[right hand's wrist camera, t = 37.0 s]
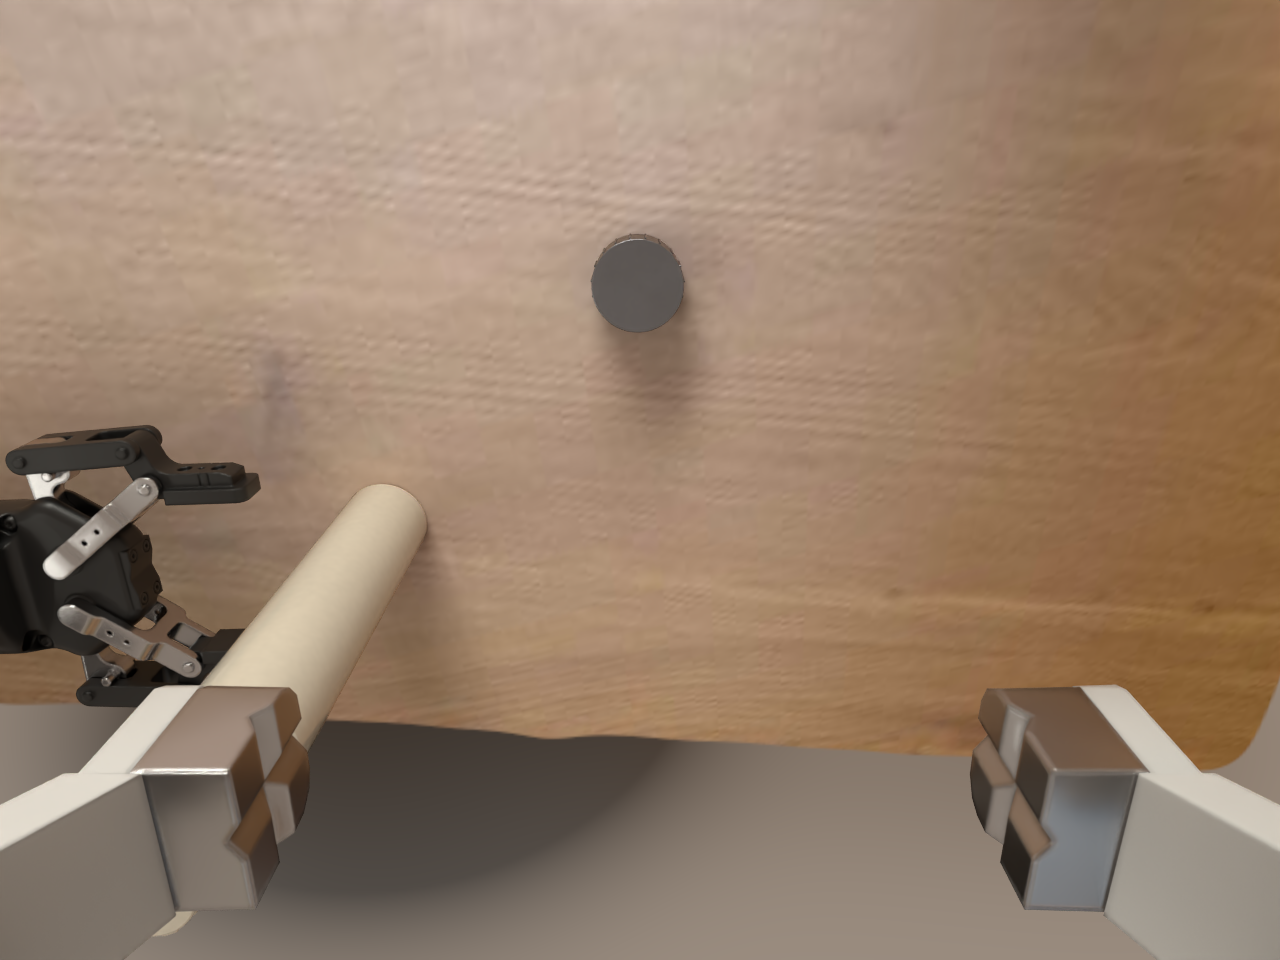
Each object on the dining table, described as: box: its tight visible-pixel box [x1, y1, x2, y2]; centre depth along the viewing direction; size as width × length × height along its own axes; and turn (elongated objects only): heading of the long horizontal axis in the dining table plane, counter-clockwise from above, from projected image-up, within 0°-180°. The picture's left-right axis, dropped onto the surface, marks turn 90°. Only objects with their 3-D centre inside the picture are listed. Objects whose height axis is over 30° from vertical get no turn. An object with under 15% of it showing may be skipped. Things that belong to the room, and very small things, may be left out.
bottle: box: [152, 484, 427, 937], centre depth 37 cm, size 5×5×26 cm
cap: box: [591, 234, 685, 332], centre depth 43 cm, size 4×4×2 cm
